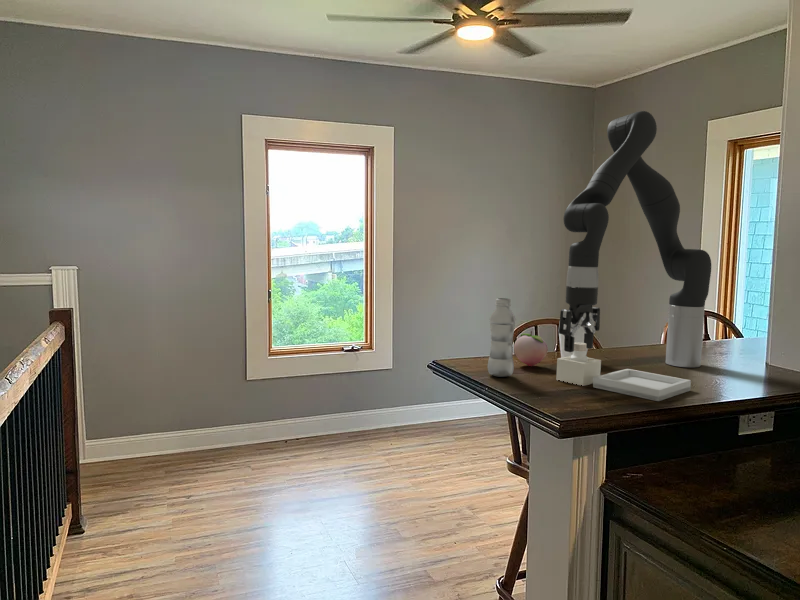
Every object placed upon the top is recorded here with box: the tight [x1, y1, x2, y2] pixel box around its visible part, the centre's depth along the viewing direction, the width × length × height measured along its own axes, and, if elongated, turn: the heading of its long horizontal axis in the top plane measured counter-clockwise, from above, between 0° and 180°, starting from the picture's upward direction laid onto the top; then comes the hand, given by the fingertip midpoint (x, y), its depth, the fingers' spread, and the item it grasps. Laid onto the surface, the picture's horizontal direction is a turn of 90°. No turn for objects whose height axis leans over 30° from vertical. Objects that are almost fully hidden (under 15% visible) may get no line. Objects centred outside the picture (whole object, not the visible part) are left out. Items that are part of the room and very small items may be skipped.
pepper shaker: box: [570, 342, 589, 362], centre depth 150 cm, size 4×4×10 cm
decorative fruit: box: [513, 330, 549, 367], centre depth 166 cm, size 9×8×10 cm
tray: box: [592, 368, 692, 402], centre depth 143 cm, size 16×16×2 cm
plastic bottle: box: [487, 297, 517, 378], centre depth 153 cm, size 6×7×20 cm
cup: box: [558, 322, 589, 358], centre depth 175 cm, size 9×9×12 cm
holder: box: [555, 356, 602, 387], centre depth 150 cm, size 8×8×6 cm
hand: (578, 349), depth 149 cm, fingers open, 8 cm apart
